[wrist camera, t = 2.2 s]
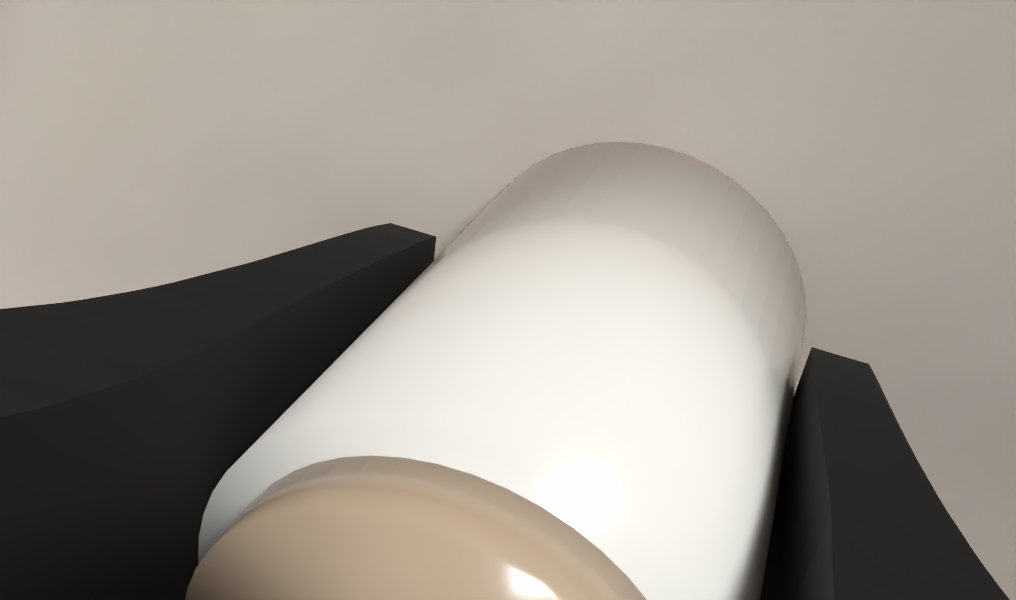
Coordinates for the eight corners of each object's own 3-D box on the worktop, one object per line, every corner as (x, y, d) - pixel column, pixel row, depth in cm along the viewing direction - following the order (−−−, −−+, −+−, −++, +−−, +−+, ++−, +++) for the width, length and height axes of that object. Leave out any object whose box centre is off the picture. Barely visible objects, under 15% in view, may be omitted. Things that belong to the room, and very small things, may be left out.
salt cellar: (855, 196, 11) (814, 632, 5) (751, 489, 13) (645, 1010, 7) (491, 103, 12) (128, 385, 6) (454, 390, 14) (165, 783, 8)
